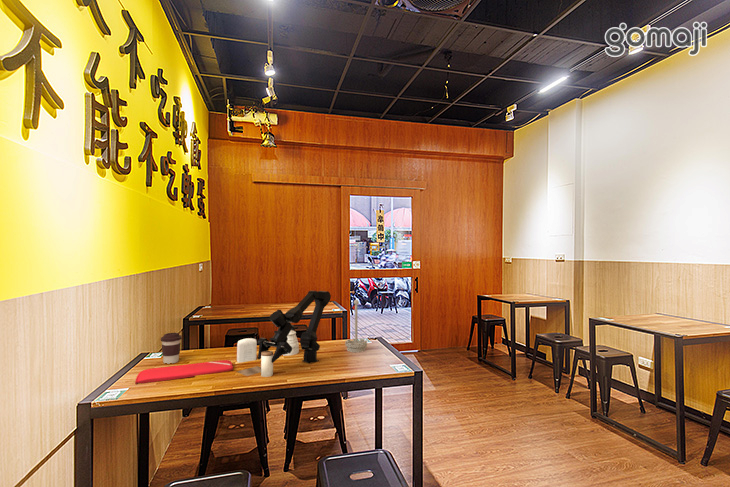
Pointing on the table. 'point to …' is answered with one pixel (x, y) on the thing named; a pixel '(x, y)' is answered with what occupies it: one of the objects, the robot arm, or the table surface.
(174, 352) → the coffee cup
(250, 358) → the photo printer
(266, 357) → the tumbler
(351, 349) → the flag stand
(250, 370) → the board
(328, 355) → the table surface
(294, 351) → the honey pot
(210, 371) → the dish drying mat
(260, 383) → the table surface
